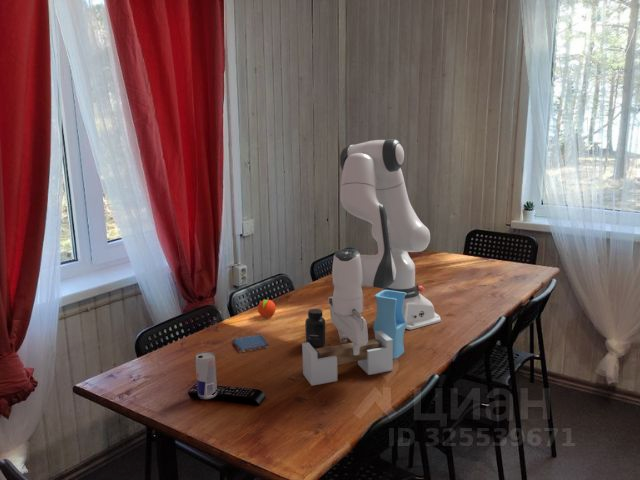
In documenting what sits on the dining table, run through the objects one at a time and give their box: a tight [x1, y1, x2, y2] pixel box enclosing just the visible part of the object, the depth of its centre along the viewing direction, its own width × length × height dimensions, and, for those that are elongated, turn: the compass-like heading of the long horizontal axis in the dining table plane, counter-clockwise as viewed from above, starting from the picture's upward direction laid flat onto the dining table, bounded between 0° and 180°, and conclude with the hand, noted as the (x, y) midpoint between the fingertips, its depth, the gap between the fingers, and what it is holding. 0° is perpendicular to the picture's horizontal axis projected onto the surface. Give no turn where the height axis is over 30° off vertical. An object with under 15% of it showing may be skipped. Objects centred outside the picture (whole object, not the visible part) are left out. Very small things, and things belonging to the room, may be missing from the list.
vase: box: [372, 289, 406, 360], centre depth 183 cm, size 8×8×20 cm
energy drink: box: [195, 351, 218, 400], centre depth 159 cm, size 5×5×12 cm
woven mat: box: [231, 333, 270, 354], centre depth 194 cm, size 10×11×2 cm
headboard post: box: [357, 330, 394, 376], centre depth 174 cm, size 8×8×10 cm
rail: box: [314, 338, 380, 366], centre depth 171 cm, size 20×4×4 cm, turn 110°
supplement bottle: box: [304, 308, 326, 349], centre depth 192 cm, size 7×7×12 cm
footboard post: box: [301, 342, 338, 386], centre depth 168 cm, size 8×8×10 cm
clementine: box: [257, 299, 277, 318], centre depth 219 cm, size 8×7×7 cm
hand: (349, 348), depth 170 cm, fingers open, 8 cm apart
